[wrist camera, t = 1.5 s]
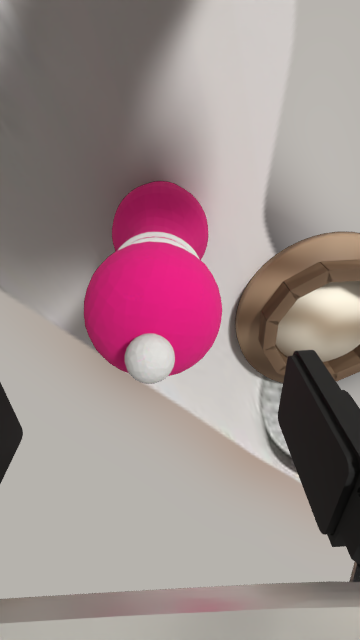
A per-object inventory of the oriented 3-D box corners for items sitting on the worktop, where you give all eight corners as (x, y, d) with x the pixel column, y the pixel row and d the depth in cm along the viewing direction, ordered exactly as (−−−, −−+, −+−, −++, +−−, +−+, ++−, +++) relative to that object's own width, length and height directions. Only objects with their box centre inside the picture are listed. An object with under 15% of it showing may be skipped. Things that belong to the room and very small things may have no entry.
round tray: (240, 237, 28) (247, 249, 25) (437, 225, 28) (465, 236, 25) (231, 382, 38) (236, 401, 35) (378, 373, 38) (394, 393, 35)
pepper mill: (184, 268, 30) (202, 459, 13) (110, 241, 28) (21, 418, 11) (216, 194, 26) (302, 323, 9) (135, 159, 24) (56, 233, 8)
